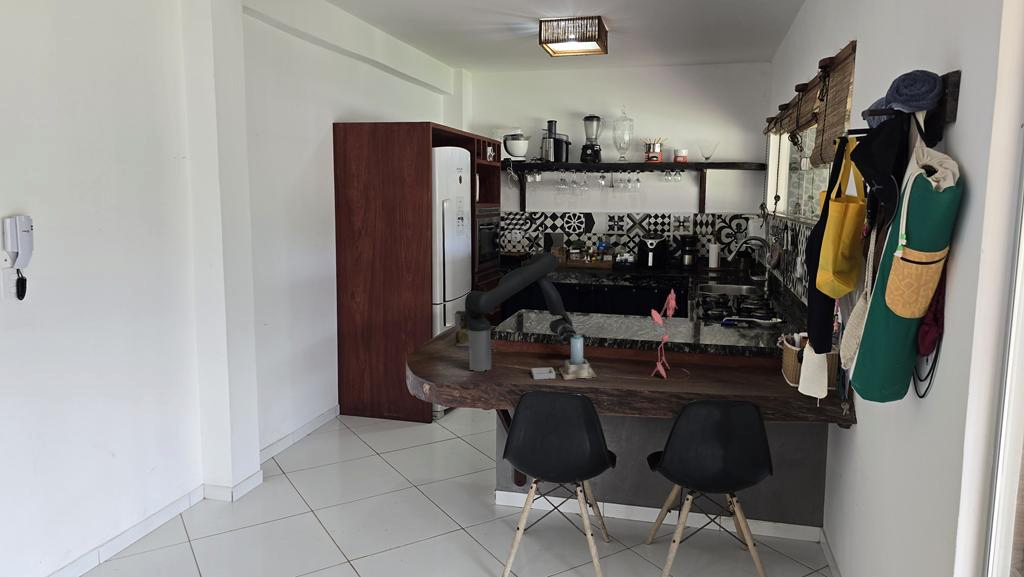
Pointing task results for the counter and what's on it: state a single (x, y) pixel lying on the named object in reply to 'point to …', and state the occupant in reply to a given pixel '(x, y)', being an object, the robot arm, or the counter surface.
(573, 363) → the light blue bottle
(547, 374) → the white square tray
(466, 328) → the coffee box
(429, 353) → the counter surface
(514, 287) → the robot arm
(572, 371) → the port
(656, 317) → the pink branching plant
